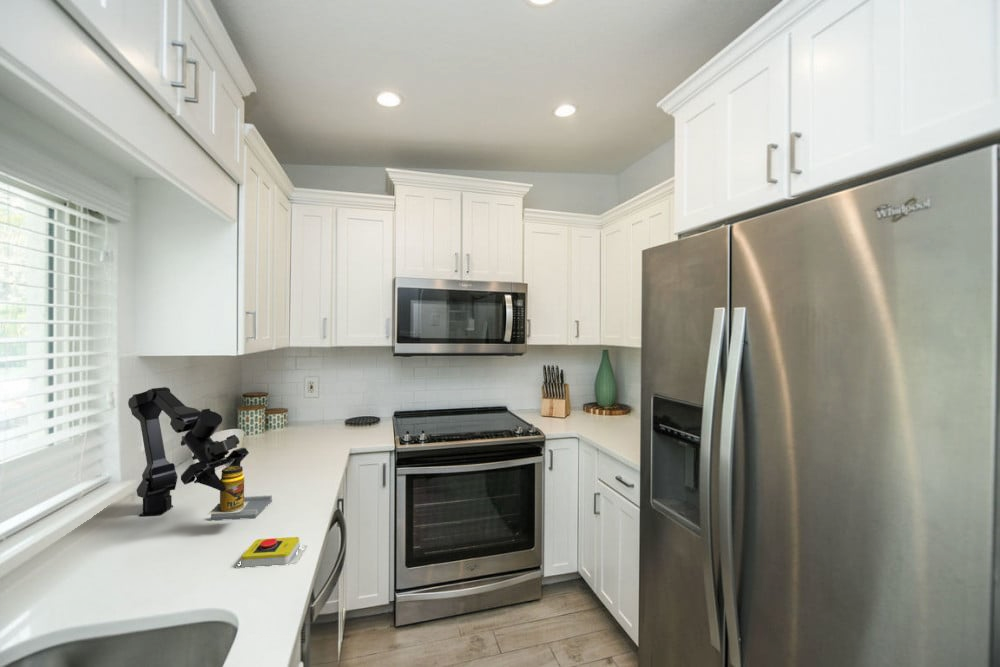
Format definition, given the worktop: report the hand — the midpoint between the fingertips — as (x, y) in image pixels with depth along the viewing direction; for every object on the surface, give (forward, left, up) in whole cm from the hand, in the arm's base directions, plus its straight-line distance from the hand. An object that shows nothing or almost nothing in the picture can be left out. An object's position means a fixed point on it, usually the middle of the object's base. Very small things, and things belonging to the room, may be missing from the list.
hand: (233, 486), depth 122 cm
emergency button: (+17, -17, -14) cm, 28 cm away
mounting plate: (-4, +14, -13) cm, 20 cm away
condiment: (-1, 0, -7) cm, 7 cm away
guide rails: (-4, +14, -12) cm, 19 cm away
